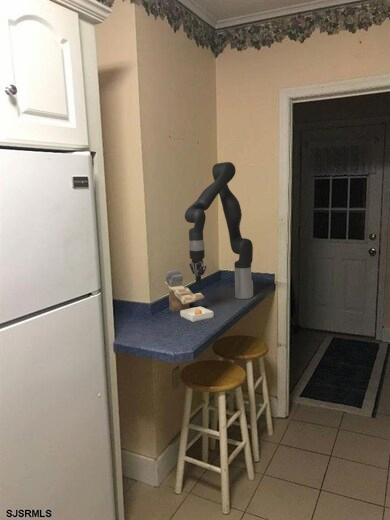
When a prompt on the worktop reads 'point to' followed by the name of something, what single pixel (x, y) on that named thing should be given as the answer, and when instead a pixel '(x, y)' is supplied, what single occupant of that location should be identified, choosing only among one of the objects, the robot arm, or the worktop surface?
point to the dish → (192, 317)
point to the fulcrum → (176, 302)
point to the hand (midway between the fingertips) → (198, 282)
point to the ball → (198, 312)
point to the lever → (180, 288)
